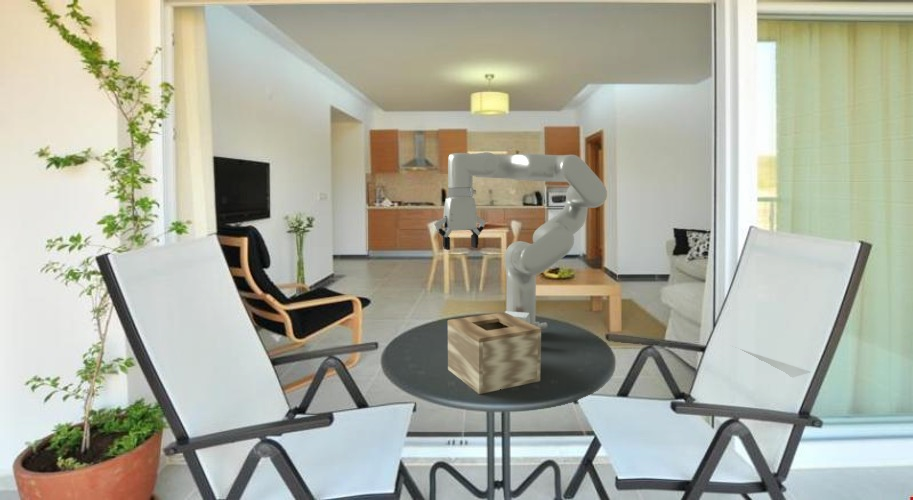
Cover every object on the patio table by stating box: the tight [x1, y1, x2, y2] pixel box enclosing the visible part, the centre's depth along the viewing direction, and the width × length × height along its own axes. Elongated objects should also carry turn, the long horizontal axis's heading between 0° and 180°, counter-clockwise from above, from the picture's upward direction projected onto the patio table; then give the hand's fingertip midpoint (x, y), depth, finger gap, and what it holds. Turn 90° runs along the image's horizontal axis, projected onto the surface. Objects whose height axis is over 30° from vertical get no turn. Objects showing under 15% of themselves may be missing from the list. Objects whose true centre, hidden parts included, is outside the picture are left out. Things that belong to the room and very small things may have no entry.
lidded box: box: [447, 311, 542, 395], centre depth 134 cm, size 18×18×14 cm
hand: (460, 248), depth 159 cm, fingers open, 9 cm apart
